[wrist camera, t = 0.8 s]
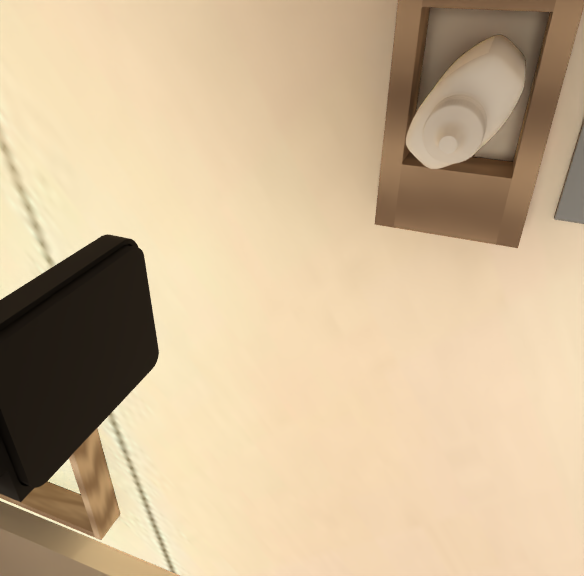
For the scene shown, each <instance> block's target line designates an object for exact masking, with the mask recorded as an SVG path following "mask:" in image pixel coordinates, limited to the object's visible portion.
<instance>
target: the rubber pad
mask: <svg viewBox="0 0 584 576" xmlns="http://www.w3.org/2000/svg"><path fill="white" fill-rule="evenodd" d="M554 219H555V220H561V221H568V222H575V223H582V224H584V121H583V124H582V128H581V131H580V134H579V138H578V141H577V144H576V147H575V151H574V154H573V157H572V161H571V164H570V167H569V170H568V174H567V177H566V180H565V183H564V187H563V190H562V193H561V197H560V200H559V203H558V206H557V210H556V213H555V216H554Z"/></svg>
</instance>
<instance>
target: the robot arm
mask: <svg viewBox="0 0 584 576" xmlns="http://www.w3.org/2000/svg"><path fill="white" fill-rule="evenodd" d="M158 354H159V350H158V343H157V337H156V330H155V324H154V318H153V311H152V305H151V298H150V292H149V285H148V279H147V272H146V266H145V259H144V254H143V252H142V250H141V249H140V248H138V245H137V244H136V242H135V241H134V240H132V239H128V238H123V237H118V236H113V235H104V236H101V237H100V238H98V239H97V240H95V241H93V242H92V243H90V244H89V245H87V246H85V247H84V248H82V249H81V250H79V251H78V252H76V253H74V254H73V255H71V256H70V257H68V258H66V259H65V260H63V261H62V262H60V263H58V264H57V265H55V266H54V267H52V268H51V269H49V270H47V271H46V272H44V273H43V274H41V275H39V276H38V277H36V278H35V279H33V280H31V281H30V282H28V283H27V284H25V285H24V286H22V287H20V288H19V289H17V290H16V291H14V292H12V293H11V294H9V295H8V296H6V297H5V298H3V299H1V300H0V494H2V495H4V496H7V497H9V498H12V499H14V500H16V501H19V502H22V501H23V500H24V499H25V497H26V496H27V495H28V494H29V493H30V492H31V491H32V490H33V489H34V488H37V487H40V486H42V485H44V484H45V483H46V482H47V481H48V480H49V479H50V478H51V477H52V476H53V475H54V473H55V472H56V471H57V470H58V469H59V468H60V467H61V466H62V465H63V464H64V463H65V462H66V461H67V460H68V458H69V457H70V456H71V455H72V454H73V453H74V452H75V451H76V450H77V449H78V448H79V447H80V446H81V445H82V444H83V442H84V441H85V440H86V439H87V438H88V437H89V436H90V435H91V434H92V433H93V432H94V431H95V430H96V429H97V427H98V426H99V425H100V424H101V423H102V422H103V421H104V420H105V419H106V418H107V417H108V416H109V415H110V414H111V412H112V411H113V410H114V409H115V408H116V407H117V406H118V405H119V404H120V403H121V402H122V401H123V400H124V399H125V397H126V396H127V395H128V394H129V393H130V392H131V391H132V390H133V389H134V388H135V387H136V386H137V385H138V384H139V382H140V381H141V380H142V379H143V378H144V377H145V376H146V375H147V374H148V373H149V372H150V371H151V370H152V369H153V367H154V366H155V364H156V362H157V359H158ZM0 576H180V575H177V574H175V573H173V572H170V571H168V570H165V569H163V568H161V567H158V566H156V565H153V564H151V563H149V562H146V561H144V560H142V559H139V558H137V557H134V556H132V555H130V554H127V553H125V552H122V551H120V550H118V549H115V548H113V547H110V546H108V545H106V544H103V543H101V542H98V541H96V540H94V539H91V538H89V537H86V536H84V535H82V534H79V533H77V532H74V531H72V530H69V529H67V528H65V527H62V526H60V525H57V524H55V523H52V522H50V521H48V520H45V519H43V518H40V517H38V516H35V515H33V514H31V513H28V512H26V511H23V510H21V509H18V508H16V507H14V506H11V505H9V504H6V503H4V502H1V501H0Z"/></svg>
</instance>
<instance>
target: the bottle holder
mask: <svg viewBox="0 0 584 576" xmlns="http://www.w3.org/2000/svg"><path fill="white" fill-rule="evenodd" d="M430 7H435V8H461V9H487V10H513V11H539V12H550V13H549V18H548V22H547V26H546V30H545V34H544V38H543V42H542V46H541V50H540V54H539V59H538V63H537V67H536V71H535V75H534V79H533V83H532V87H531V91H530V95H529V100H528V104H527V108H526V112H525V116H524V120H523V124H522V128H521V132H520V136H519V140H518V145H517V149H516V153H515V157H514V161H513V162H510V161H502V160H493V159H485V158H477V157H469V159H466V161H463V162H460V163H457V164H456V163H454V164H452V165H449V166H446V167H443V168H439V169H430V168H428V167H426V166H425V165H423V164H422V163H421V162H420V161H419V160H418V159H417V158H416V157H415V156H414V155H413V154H412V153H411V152H410V151H409V149H408V147H407V145H406V136H407V133H408V130H409V127H410V125H411V122H412V120H413V118H414V116H415V114H416V109H417V101H418V94H419V86H420V79H421V72H422V64H423V57H424V49H425V42H426V34H427V27H428V19H429V12H430ZM583 7H584V0H398V7H397V16H396V26H395V36H394V45H393V55H392V64H391V74H390V83H389V93H388V102H387V112H386V121H385V131H384V140H383V150H382V160H381V169H380V179H379V188H378V198H377V207H376V217H375V224H376V225H382V226H388V227H394V228H400V229H406V230H412V231H418V232H424V233H430V234H436V235H442V236H448V237H454V238H460V239H466V240H472V241H478V242H484V243H490V244H496V245H503V246H509V247H515V248H518V245H519V242H520V238H521V234H522V231H523V227H524V223H525V220H526V216H527V212H528V209H529V205H530V201H531V198H532V194H533V190H534V187H535V183H536V179H537V176H538V172H539V168H540V165H541V161H542V157H543V154H544V150H545V146H546V143H547V139H548V135H549V132H550V128H551V124H552V121H553V117H554V114H555V110H556V106H557V103H558V99H559V95H560V92H561V88H562V84H563V81H564V77H565V73H566V70H567V66H568V62H569V59H570V55H571V51H572V48H573V44H574V40H575V37H576V33H577V29H578V26H579V22H580V18H581V15H582V11H583Z"/></svg>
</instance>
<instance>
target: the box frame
mask: <svg viewBox="0 0 584 576" xmlns="http://www.w3.org/2000/svg"><path fill="white" fill-rule="evenodd" d="M69 459H70V462H71V466H72V469H73V472H74V475H75V478H76V481H77V484H78V487H79V490H80V493H81V495H80V494H77V493H75V492H72V491H70V490H67V489H65V488H62V487H59V486H57V485H54V484H52V483H49V482H46V483H45V484H44V485H42V486H40V487H37V488H34V489H33V490H32V491H31V492H30V493H29V494H28V495H27V496H26V497H25V499H24V500H23V501H22V502H19V501H16V500H14V499H12V498H9V497H7V496H4V495H2V494H0V498H2V499H4V500H7V501H9V502H11V503H14V504H16V505H19V506H21V507H23V508H26V509H28V510H30V511H33V512H35V513H38V514H40V515H42V516H45V517H47V518H50V519H52V520H54V521H57V522H59V523H62V524H64V525H66V526H69V527H71V528H74V529H76V530H78V531H81V532H83V533H86V534H88V535H90V536H93V537H95V538H98V539H100V540H102V538H103V537H104V536H105V534H106V533H107V532H108V530H109V529H110V527H111V526H112V525H113V523H114V522H115V521H116V519H117V518H118V517H119V515H120V512H119V508H118V504H117V501H116V497H115V493H114V490H113V486H112V482H111V479H110V475H109V471H108V468H107V464H106V460H105V457H104V453H103V449H102V445H101V442H100V438H99V434H98V431H97V429H96V430H95V431H94V432H93V433H92V434H91V435H90V436H89V437H88V438H87V439H86V440H85V441H84V442H83V444H82V445H81V446H80V447H79V448H78V449H77V450H76V451H75V452H74V453H73V454H72V455H71V456H70V457H69Z"/></svg>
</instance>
